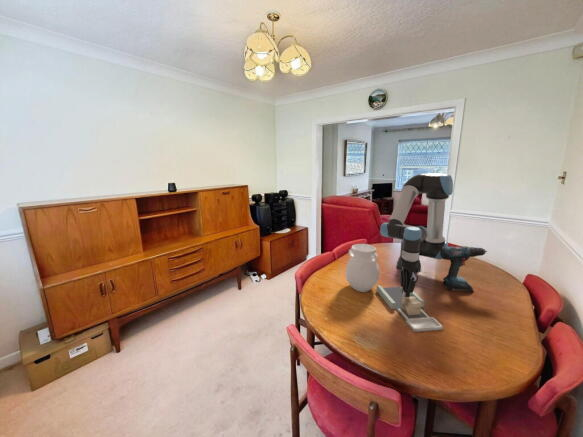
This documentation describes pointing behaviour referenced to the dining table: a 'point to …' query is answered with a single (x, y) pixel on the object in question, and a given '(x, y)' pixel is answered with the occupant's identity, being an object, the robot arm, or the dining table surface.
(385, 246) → the dining table surface
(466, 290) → the power drill
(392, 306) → the channel
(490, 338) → the dining table surface
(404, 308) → the block
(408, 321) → the tray
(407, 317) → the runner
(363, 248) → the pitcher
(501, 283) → the dining table surface
